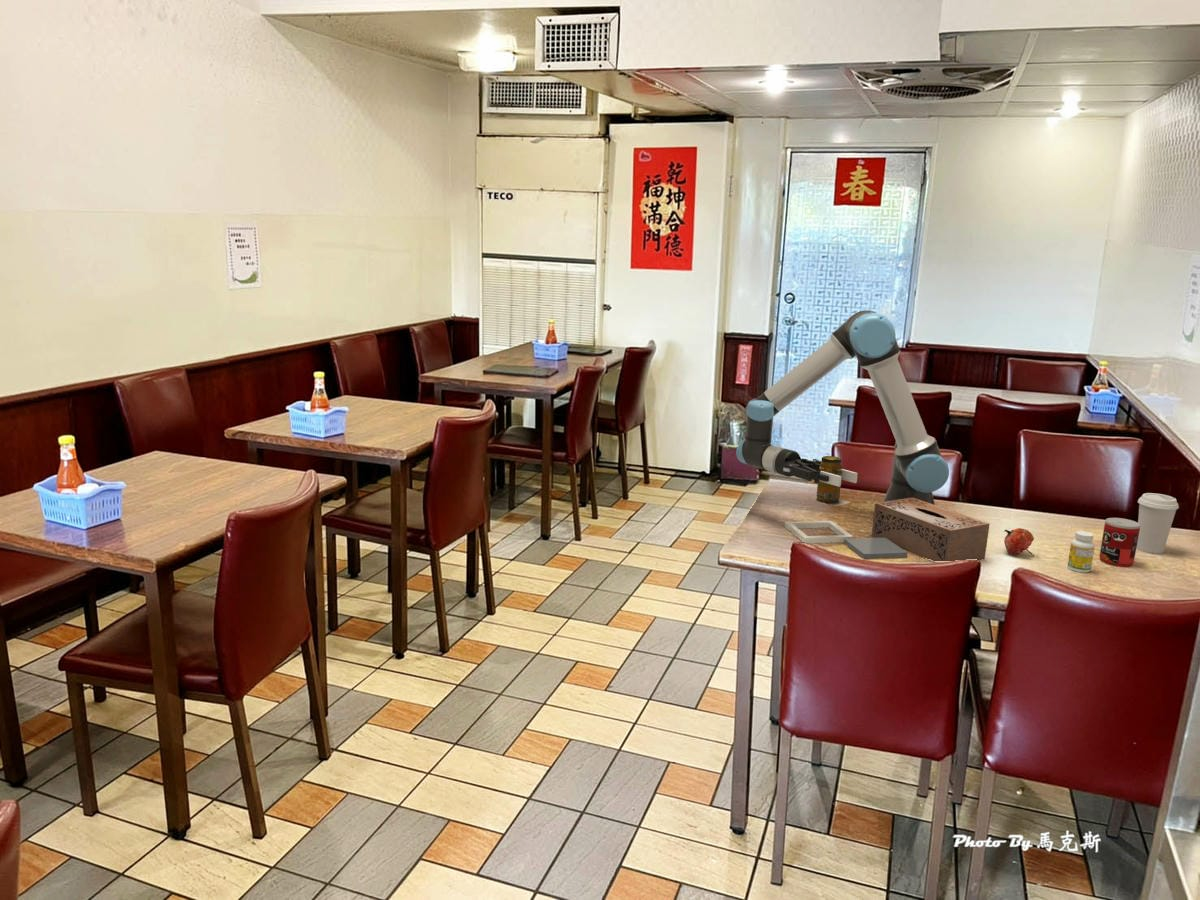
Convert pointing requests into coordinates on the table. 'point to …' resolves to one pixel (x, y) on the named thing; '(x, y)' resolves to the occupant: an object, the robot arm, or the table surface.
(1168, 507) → the coffee cup
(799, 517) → the table surface
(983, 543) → the tissue box cover
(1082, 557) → the supplement bottle
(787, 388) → the robot arm
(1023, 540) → the pomegranate
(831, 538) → the pocket holder
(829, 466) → the condiment
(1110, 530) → the canned food
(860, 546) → the charcoal tile
